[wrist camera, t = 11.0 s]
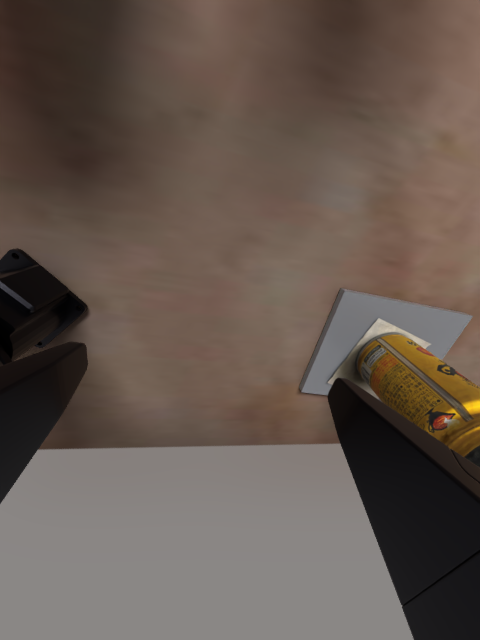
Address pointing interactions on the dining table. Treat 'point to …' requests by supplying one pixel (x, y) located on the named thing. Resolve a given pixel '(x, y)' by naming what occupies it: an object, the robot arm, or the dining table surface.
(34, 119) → the dining table surface
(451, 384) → the condiment
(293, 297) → the dining table surface
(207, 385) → the dining table surface
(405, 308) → the board
